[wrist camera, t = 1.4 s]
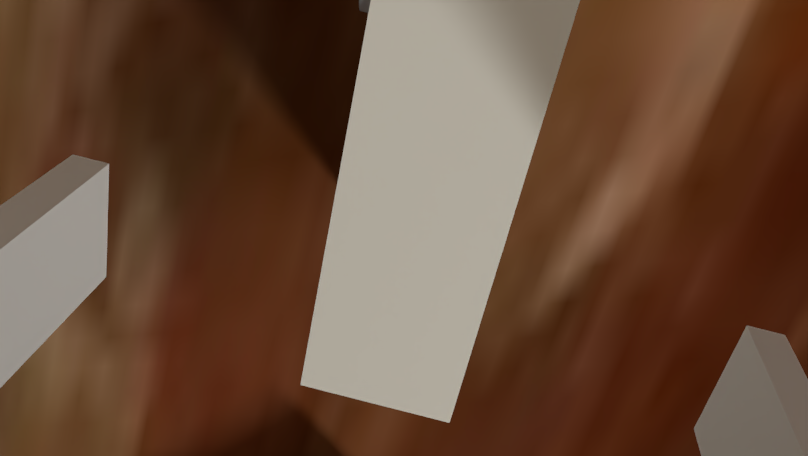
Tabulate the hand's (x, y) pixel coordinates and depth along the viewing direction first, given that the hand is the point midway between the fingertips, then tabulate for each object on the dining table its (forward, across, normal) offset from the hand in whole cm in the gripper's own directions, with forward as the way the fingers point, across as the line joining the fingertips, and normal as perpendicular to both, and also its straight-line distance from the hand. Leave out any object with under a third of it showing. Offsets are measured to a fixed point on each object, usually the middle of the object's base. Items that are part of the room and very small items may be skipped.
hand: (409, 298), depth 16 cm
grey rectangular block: (+15, 0, 0) cm, 15 cm away
